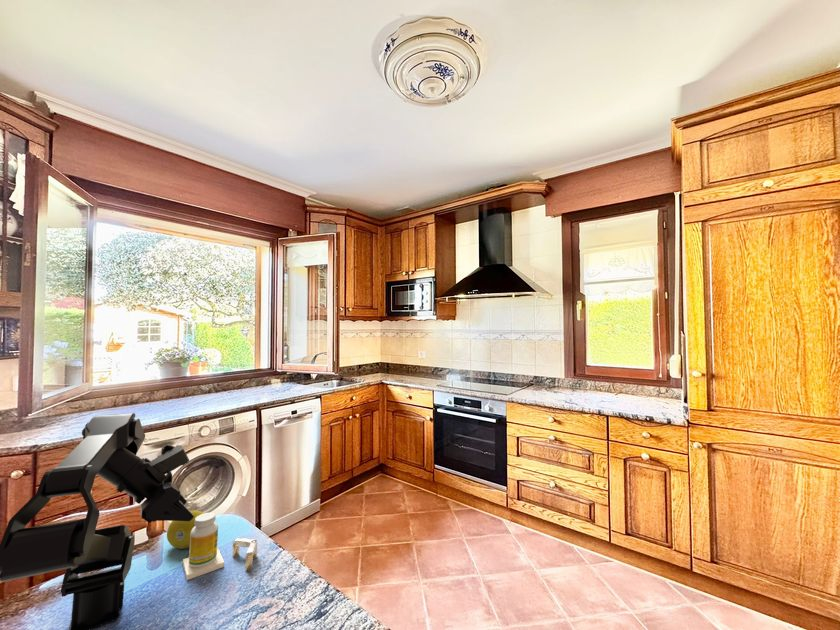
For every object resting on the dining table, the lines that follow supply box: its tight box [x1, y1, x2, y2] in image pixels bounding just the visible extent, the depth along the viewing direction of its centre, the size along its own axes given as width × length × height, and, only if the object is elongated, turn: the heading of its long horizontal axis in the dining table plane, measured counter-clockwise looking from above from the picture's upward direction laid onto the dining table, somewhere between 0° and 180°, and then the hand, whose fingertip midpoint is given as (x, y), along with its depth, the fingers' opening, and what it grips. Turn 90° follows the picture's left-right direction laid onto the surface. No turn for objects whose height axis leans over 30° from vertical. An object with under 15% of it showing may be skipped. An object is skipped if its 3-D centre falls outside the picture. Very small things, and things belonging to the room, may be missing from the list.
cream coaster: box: [182, 547, 225, 581], centre depth 78 cm, size 7×7×1 cm
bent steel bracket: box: [231, 537, 258, 572], centre depth 80 cm, size 4×9×4 cm, turn 40°
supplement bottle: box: [188, 512, 219, 568], centre depth 78 cm, size 5×5×10 cm
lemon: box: [166, 510, 205, 550], centre depth 86 cm, size 11×8×8 cm
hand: (188, 510), depth 75 cm, fingers open, 9 cm apart
